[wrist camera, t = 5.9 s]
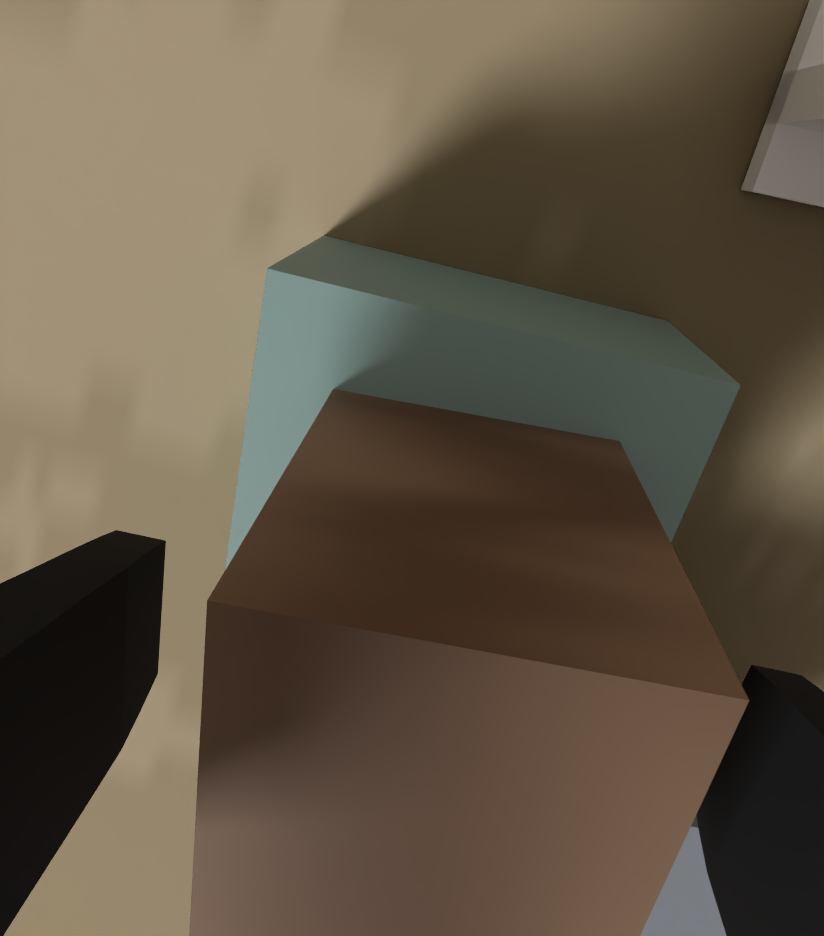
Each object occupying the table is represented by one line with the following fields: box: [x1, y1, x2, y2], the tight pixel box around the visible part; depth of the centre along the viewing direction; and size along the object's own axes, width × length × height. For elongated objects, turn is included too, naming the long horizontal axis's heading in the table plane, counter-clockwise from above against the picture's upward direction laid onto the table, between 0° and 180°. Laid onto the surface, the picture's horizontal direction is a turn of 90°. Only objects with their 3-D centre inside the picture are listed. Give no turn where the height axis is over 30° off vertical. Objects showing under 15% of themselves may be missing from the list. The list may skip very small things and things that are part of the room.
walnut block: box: [189, 389, 749, 936], centre depth 9 cm, size 4×4×6 cm
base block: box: [225, 236, 741, 570], centre depth 14 cm, size 7×7×4 cm
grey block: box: [640, 816, 726, 936], centre depth 16 cm, size 4×4×6 cm
